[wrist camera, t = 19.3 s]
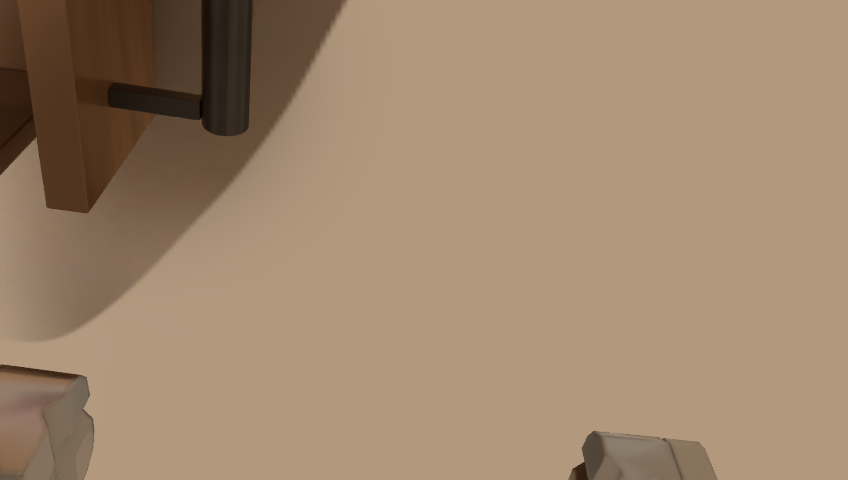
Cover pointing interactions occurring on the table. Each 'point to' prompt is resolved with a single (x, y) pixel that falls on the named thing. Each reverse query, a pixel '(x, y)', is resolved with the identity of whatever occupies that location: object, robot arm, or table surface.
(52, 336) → the table surface
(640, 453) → the robot arm
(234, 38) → the drawer
